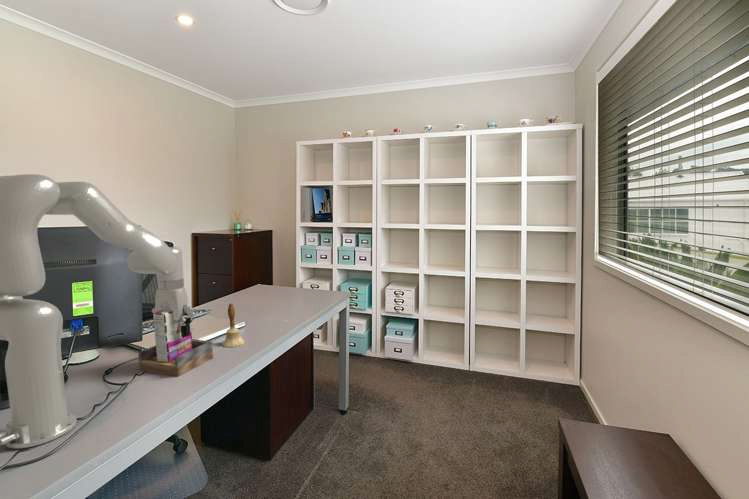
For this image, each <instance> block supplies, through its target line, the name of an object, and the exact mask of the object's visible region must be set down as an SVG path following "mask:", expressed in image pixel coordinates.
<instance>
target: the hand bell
mask: <svg viewBox="0 0 749 499" xmlns="http://www.w3.org/2000/svg"><path fill="white" fill-rule="evenodd" d="M235 309H236V308H235V307H234V305H233V303H229V304H228V308H227V315H228V318H229V329H227V330H226V336H225V338H224V339H225V340H224V341H223V342H222V343H221V346H222V347H223V348H235V347H240V346H242V345H244V344H245V342H246V341H245V339H243V338H242V337H241V334H240V330H239V329H238V328H236V324H235V317H236V310H235Z"/></svg>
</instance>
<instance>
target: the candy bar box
mask: <svg viewBox="0 0 749 499" xmlns="http://www.w3.org/2000/svg"><path fill="white" fill-rule="evenodd" d="M188 306H189V308H190V305H189V304H188ZM190 309H191V308H190ZM152 316H153V317H152V318H153V328H154V337H155V346H156V353H157V361H158V362H167V363H169V362H171V361H173V360H175V357H177V356H179V355H181V354H184V353H186V352H188V351H190V350H192V349H193V345H192V339H193V338H192V337H193V336H192V335H193V333H192V326H191V325H192V323H191V324H190V335H189V336H187V337H184V338H182V337H181V326H182V324H181V322H180V321H179V320H177V321H173V320H172V312H171V311H158V312H156V313H153V312H152ZM182 316H183V315H182ZM184 321H185V318H184Z"/></svg>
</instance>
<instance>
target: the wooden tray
mask: <svg viewBox="0 0 749 499" xmlns="http://www.w3.org/2000/svg"><path fill="white" fill-rule="evenodd" d="M192 345H193V349H192V350H190V351H188V352H186V353H184V354H181V355H179V356H177V357H175V360H173V361H171V362H169V363H167V362H158V361H157V353H156V345H153V346H150V347H149V348H146V349H144V350H141V351H139V352H138V360H139V361H138V362H139V370H140V371H143V372H150V373H154V374H155V373H156V374H162V375H168V376H172V377H173V376H174V377H181V376H182V375H184V374H186V373H188V372H190V371H191V370H194V369H195V368H196V367H199V366H201V365H202V364H205V363H206V362H209V361H210V360H212V359H213V358H214V351H213V341H210V340H202V339H194V338H192Z"/></svg>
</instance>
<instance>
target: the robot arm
mask: <svg viewBox="0 0 749 499" xmlns="http://www.w3.org/2000/svg"><path fill="white" fill-rule="evenodd" d="M45 215H46V216H47V215H49V216H51V215H54V216H55V215H57V216H59V215H60V216H63V215H64V216H65V215H66V216H67V215H69V216H71V215H73V216H74V217H76V219H78V220H79V221H80V222H81V223H82V224H84V225H85V226H86V227H87V228H89V230H91V231H92V232H93V233H94V234H95V235H96V236H97V237H98V238H99V239H101V241H104V242H105V243H108V244H111V245H113V246H116V247H119V248H124V249H127V250H129V251H132V252H131V253H130V254H129V255H128V256H127V259H126V265H127V267H128V268H129V269H130V270H131V271H132V272H134V273H137V274H145V275H146V274H147V275H148V274H149V275H157V289H156V293H155V301H154V302H155V303H154V304H155V305H154V307H153V308H152V309H151V312H152V314H153V313H156V312H158V311H171V312H172V320H173V321H177V320H179V321H180V322H181V324H182V326H181V337H182V338H184V337H187V336H189V335H190V324H191V325H192V322H193V321H194V318H195V316H196V312H195V311H194V310H193V309H191V308H189V307H190V305H189V300H188V294H187V291H186V287H185V283H184V282H185V281H184V270H183V269H184V268H183V266H184V265H183V252H182V249H181V248H180V247H176V246H175V247H174V246H173V247H172V246H170V247H169V245H168V244H167V243H166V242H165V241H164V240H163V239H162V238H160V237H159V236H158V235H156V234H154V232H151V231H150V230H148V229H146V228H145V227H142V226H141V225H139V224H137V223H135V222H133V221H131V220H130V219H129V218H128V217H127V216H126V215H125V214H124V213H123V212H122V211H121V210H120V209H119V208H118V207H117V206H116V205H115V204H114V203H113V202H112V201H111V200H110V199H109V198H108V197H107V196H106V195H105V193H103V192H102V190H100V189H99V188H98V187H97V186H95V185H94V184H93V183H90V182H87V181H63V182H62V181H61V182H60V181H58V182H57V181H55V180H54V179H53V178H51V177H49V176H46V175H43V174H15V175H14V174H13V175H12V174H11V175H0V341H7V342H8V347H7V351H6V355H5V360H4V368H5V369H4V370H5V377H6V386H7V393H8V402H9V410H10V417H11V421H9V422H6V423H5V427H6V428H3V429H1V432H0V446H3V445H4V446H6V448H8V449H16V450H17V449H26V448H33V447H36V446H40V445H42V444H45V443H49V442H51V441H53V440H56V439H58V438H60V437H61V436H64V435H65V434H67V433H68V432H70V431H71V430H72V429H73V428H74V427H76V425H77V416H76V415H75V414H74V413H73V414H72V413H71V412H69V413H68V406H67V399H66V398H67V395H66V386H65V378H64V368H63V361H62V360H63V358H62V347H61V346H62V344H61V343H62V332H63V325H64V320H63V315H62V312H61V311H60V310H59V308H58V307H57V306H56V305H54V304H52V303H50V302H47V301H46V300H45V301H44V300H38V299H28V298H24V297H25V296H26V297H27V296H31V295H33V294H35V293H38V292H39V291H40V290H42V289H43V287H44V286H45V283H46V271H45V266H44V262H43V257H42V253H41V248H40V244H39V239H38V238H39V237H38V228H39V227H38V226H39V225H40V222H41V220H42V218H43V217H44V216H45ZM188 305H189V306H188ZM182 315H183V316H182ZM184 318H185V321H184Z"/></svg>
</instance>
